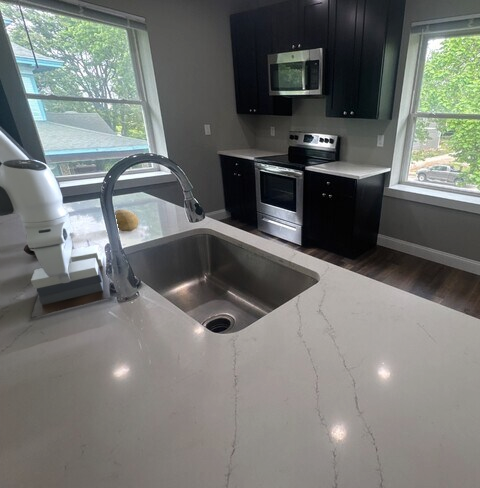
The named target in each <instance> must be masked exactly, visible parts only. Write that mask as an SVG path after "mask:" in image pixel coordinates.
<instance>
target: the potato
mask: <svg viewBox="0 0 480 488" xmlns="http://www.w3.org/2000/svg"><path fill="white" fill-rule="evenodd" d="M114 212H115V215H116V219H117V224H118V228H119V230H118V231H121V232H133V231H135V230H136V229H137V228H138V226H139V225H140V221H139V217H138V216H137V215H136V213H134V212H132V211H130V210H128V209H121V208H120V209H116V210H115V211H114Z"/></svg>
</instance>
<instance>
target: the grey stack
mask: <svg viewBox="0 0 480 488" xmlns="http://www.w3.org/2000/svg"><path fill="white" fill-rule="evenodd" d="M35 290H36V292H37V295H38V294H39V297H38V298H39V300H40V302H41V305H45V304H49V303H53V302H58V301H62V300H66V299H70V298H74V297H78V296H83V295H87V294H91V293H95V292H99V291H103V279H102V276H101V272H100V269H99V266H98V275H97V276H92V277H87V278H83V279H78V280H74V281H70V282H68V283H60V284H55V285H50V286H46V287H41V288H37V289H35Z"/></svg>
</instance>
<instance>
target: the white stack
mask: <svg viewBox="0 0 480 488" xmlns="http://www.w3.org/2000/svg"><path fill="white" fill-rule="evenodd" d="M101 253H102V251H101V249H100V246H99V244H96V245H89V246H82V247H77V248H72V250H71V261H72V262H76V261H81V260H86V259H92V258H96V261H97V264H98V266H99V267H101V266H103V257H102V254H101Z"/></svg>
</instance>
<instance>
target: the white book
mask: <svg viewBox="0 0 480 488" xmlns="http://www.w3.org/2000/svg"><path fill="white" fill-rule="evenodd" d="M68 274H69V275H70V277H71V280H70V281H74V280H78V279H83V278H87V277H92V276H97V275H98V264H97V261H96V258H92V259H86V260H81V261H76V262H71V263H69V266H68ZM30 282H31V285H32V287H33V289H34V290H36V289H37V288H41V287H46V286H50V285H55V284H60V283H62V282H61V280H60V278H59V277H58V276H54V277H49V276H48V275H47V274H46V273H45V272H44V270H43V268H42V267H40V268H34V271H33V273H32V276H31V279H30Z"/></svg>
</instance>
